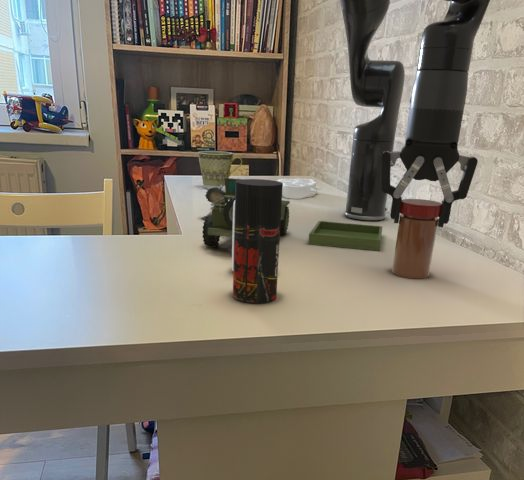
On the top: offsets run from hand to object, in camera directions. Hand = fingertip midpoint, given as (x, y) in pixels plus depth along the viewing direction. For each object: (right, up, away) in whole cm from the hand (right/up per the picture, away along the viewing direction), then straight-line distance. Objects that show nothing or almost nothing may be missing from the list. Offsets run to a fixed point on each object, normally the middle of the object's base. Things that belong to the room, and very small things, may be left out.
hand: (418, 223), depth 87 cm
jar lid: (0, +3, -1) cm, 3 cm away
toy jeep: (-27, +1, +19) cm, 33 cm away
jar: (0, -7, +3) cm, 8 cm away
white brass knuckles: (-15, +26, +75) cm, 81 cm away
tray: (-8, +2, +23) cm, 25 cm away
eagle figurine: (-33, +9, +37) cm, 50 cm away
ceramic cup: (-37, +28, +79) cm, 91 cm away
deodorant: (-25, -12, -11) cm, 30 cm away
